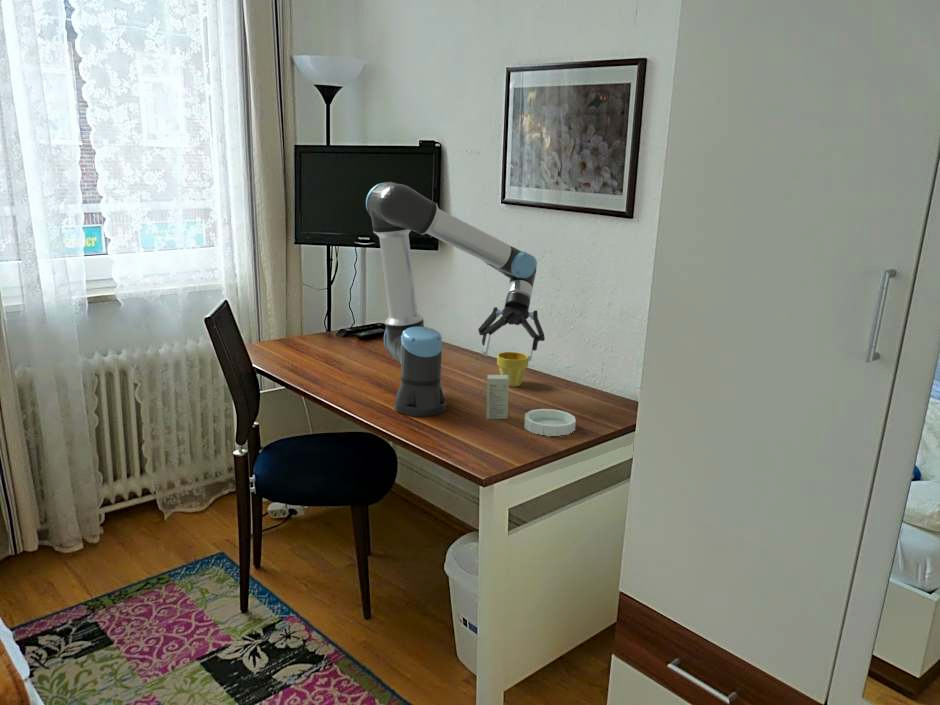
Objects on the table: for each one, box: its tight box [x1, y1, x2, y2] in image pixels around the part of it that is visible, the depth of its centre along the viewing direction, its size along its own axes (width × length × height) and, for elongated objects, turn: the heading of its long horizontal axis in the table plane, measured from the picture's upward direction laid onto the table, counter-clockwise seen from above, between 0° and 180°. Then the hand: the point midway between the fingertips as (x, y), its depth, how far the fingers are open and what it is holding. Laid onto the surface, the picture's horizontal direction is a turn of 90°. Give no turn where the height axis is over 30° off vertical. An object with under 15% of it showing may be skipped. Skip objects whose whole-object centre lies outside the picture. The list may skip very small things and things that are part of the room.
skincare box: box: [485, 374, 510, 420], centre depth 212 cm, size 6×4×12 cm
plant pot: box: [496, 351, 530, 388], centre depth 244 cm, size 10×10×10 cm
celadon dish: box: [523, 408, 577, 437], centre depth 206 cm, size 14×14×3 cm
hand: (506, 356), depth 220 cm, fingers open, 13 cm apart
